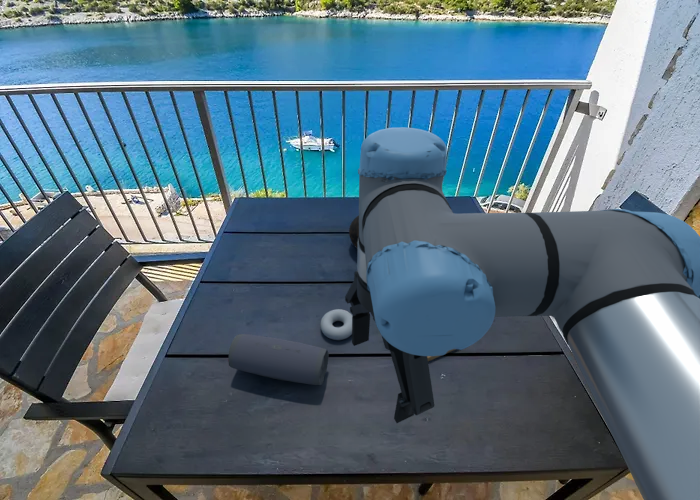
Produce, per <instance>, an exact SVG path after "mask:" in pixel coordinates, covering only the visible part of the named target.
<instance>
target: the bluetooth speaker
mask: <svg viewBox="0 0 700 500" xmlns="http://www.w3.org/2000/svg"><path fill="white" fill-rule="evenodd" d="M329 355H330V354H329V350H328V349H326V348H323V347H320V346H317V345H312V344H308V343H303V342H299V341H294V340H288V339H283V338H279V337H272V336H266V335H258V334H257V335H256V334H251V333H250V334H248V333H239V334H237V335H235V337H233V339H232V341H231V342H230V346H229V349H228V359H227V361H228V367H230V368H232V369H234V370H238V371H241V372H244V373H245V372H246V373H249V374H252V375H257V376H260V377H261V376H262V377H265V378H268V379H272V380H273V379H274V380H279V381H286V382H293V383H298V384H299V383H300V384H306V385H314V386H322V385H323V384H324V379H325V375H326V373H327V369H328V364H329V358H330V357H329Z"/></svg>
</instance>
